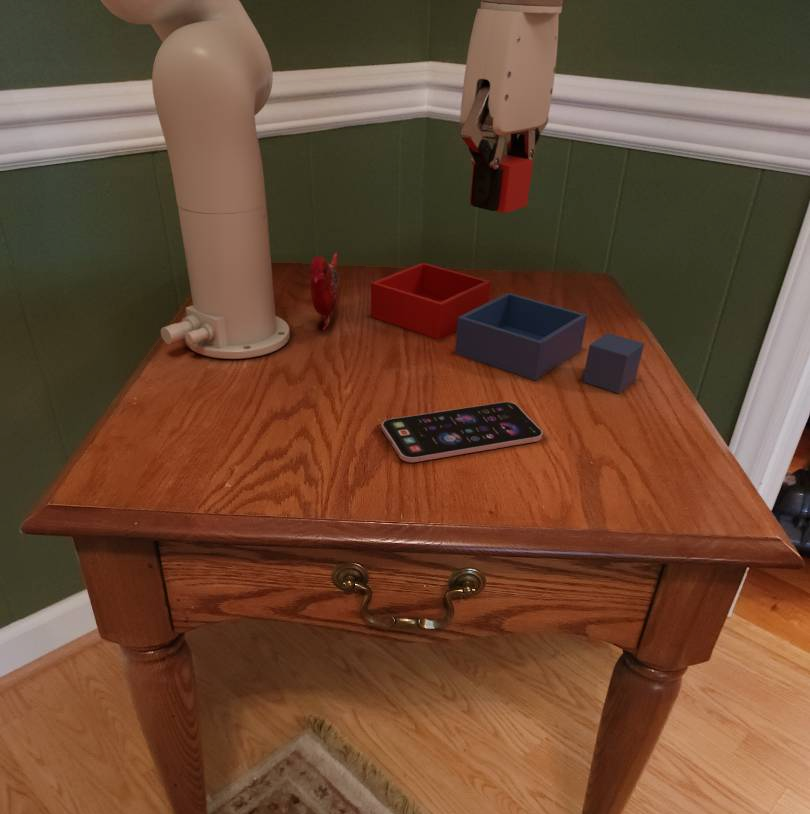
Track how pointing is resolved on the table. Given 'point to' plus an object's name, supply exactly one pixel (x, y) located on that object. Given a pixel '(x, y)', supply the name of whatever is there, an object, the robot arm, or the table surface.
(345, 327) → the table surface
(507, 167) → the red block
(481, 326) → the blue bin
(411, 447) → the smartphone
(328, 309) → the decorative bird figurine
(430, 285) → the red bin
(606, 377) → the blue block
